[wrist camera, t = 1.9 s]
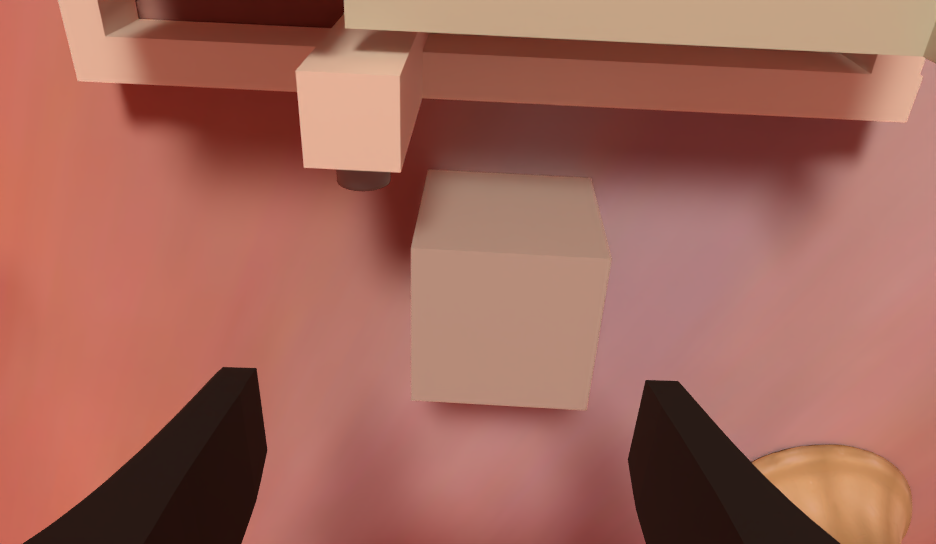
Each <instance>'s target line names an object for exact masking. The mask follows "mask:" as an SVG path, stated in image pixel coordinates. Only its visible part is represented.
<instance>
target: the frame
mask: <svg viewBox="0 0 936 544" xmlns="http://www.w3.org/2000/svg"><path fill="white" fill-rule="evenodd" d="M58 3H59V7H60V11H61V15H62V19H63V23H64V27H65V31H66V35H67V39H68V43H69V47H70V51H71V56H72V60H73V64H74V68H75V72H76V76H77V80H78V81H86V82H106V83H126V84H146V85H166V86H186V87H206V88H226V89H246V90H266V91H286V92H297V95H298V106H299V118H300V129H301V141H302V152H303V164H304V168H320V169H336V172H337V182H338V184H339V185H340V186H342V187H343V188H346V189H349V190H354V191H371V190H377V189H380V188H383V187H385V186H386V185H388V184H389V183H390V172H398V173H401V170H402V167H403V163H404V160H405V156H406V153H407V149H408V146H409V143H410V139H411V136H412V132H413V129H414V125H415V122H416V118H417V115H418V112H419V108H420V105H421V101H422V98H425V99H445V100H465V101H485V102H505V103H525V104H545V105H565V106H585V107H605V108H625V109H645V110H665V111H685V112H705V113H725V114H745V115H765V116H785V117H805V118H825V119H845V120H865V121H885V122H905V123H906V122H907V119H908V117H909V114H910V111H911V109H912V106H913V103H914V101H915V98H916V95H917V92H918V90H919V87H920V84H921V82H922V79H923V76H921V75H920V73H921V71H922V68H923V65H924V62H925V60H926V58H925V57H921V56H901V55H881V54H860V53H828V52H807V51H787V50H766V49H746V48H725V47H705V46H684V45H664V44H644V43H623V42H603V41H582V40H562V39H541V38H521V37H500V36H480V35H460V34H439V33H429V32H410V31H390V30H369V29H349V28H345V16H344V14H343V15H342V16H341V18H340V19H339V20H338V21H337V22H336V23H335V25H334V26H333V27H332V28H316V27H296V26H275V25H255V24H235V23H214V22H194V21H173V20H153V19H139V18H138V12H137V7H136V2H135V0H58Z"/></svg>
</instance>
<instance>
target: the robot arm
mask: <svg viewBox="0 0 936 544" xmlns="http://www.w3.org/2000/svg"><path fill="white" fill-rule="evenodd" d="M266 454H267V444H266V436H265V429H264V421H263V414H262V406H261V399H260V391H259V384H258V377H257V369H256V368H232V367H223V368H222V369H220V370H219V371H218V372H217V373H216V374H215V375H214V376H213V377H212V378H211V379H210V380H209V381H208V382H207V383H206V385H205V386H204V387H203V388H202V389H201V390H200V391H199V392H198V393H197V394H196V395H195V396H194V397H193V398H192V399H191V400H190V401H189V402H188V403H187V404H186V406H185V407H184V408H183V409H182V410H181V411H180V412H179V413H178V414H177V415H176V416H175V417H174V418H173V419H172V420H171V421H170V422H169V423H168V424H167V425H166V426H165V427H164V428H163V429H162V430H161V431H160V432H159V433H158V434H157V435H156V436H155V437H154V438H153V439H152V440H150V441H149V442H148V443H147V444H146V445H145V446H144V447H143V448H142V449H141V450H140V451H139V452H138V453H137V454H136V455H135V456H133V457H132V458H131V459H130V460H129V461H128V462H127V463H126V464H124V465H123V466H122V467H121V468H120V469H119V470H118V471H117V472H116V473H114V474H113V475H112V476H111V477H110V478H109V479H108V480H107V481H105V482H104V483H103V484H102V485H101V486H100V487H98V488H97V489H96V490H95V491H93V492H92V493H91V494H90V495H89V496H87V497H86V498H85V499H84V500H82V501H81V502H80V503H79V504H77V505H76V506H75V507H74V508H72V509H71V510H70V511H68V512H67V513H66V514H64V515H63V516H62V517H60V518H59V519H58V520H56V521H55V522H54V523H52V524H51V525H49V526H48V527H47V528H45V529H44V530H42V531H41V532H39V533H38V534H36V535H35V536H33V537H32V538H30V539H29V540H27V541H26V542H24V543H23V544H241V543H242V540H243V537H244V535H245V532H246V529H247V526H248V523H249V520H250V517H251V515H252V512H253V509H254V506H255V503H256V499H257V495H258V491H259V486H260V482H261V478H262V473H263V468H264V463H265V458H266ZM628 463H629V470H630V476H631V483H632V489H633V495H634V500H635V506H636V511H637V514H638V518H639V522H640V525H641V528H642V532H643V535H644V539H645V542H646V544H841V543H839V542H838V541H837V540H836V539H835V538H833V537H832V536H831V535H830V534H828V533H827V532H826V531H825V530H824V529H822V528H821V527H820V526H819V525H818V524H816V523H815V522H814V521H813V520H812V519H810V518H809V517H808V516H807V515H806V514H805V513H804V512H802V511H801V510H800V509H799V508H798V507H797V506H796V505H795V504H793V503H792V502H791V501H790V500H789V499H788V498H787V497H786V496H785V495H784V494H783V493H782V492H781V491H780V490H779V489H778V488H777V487H776V486H775V485H773V484H772V483H771V482H770V481H769V480H768V479H767V478H766V477H765V476H764V475H763V474H762V473H761V472H760V471H759V470H758V469H757V468H756V467H755V466H754V465H753V464H752V463H751V462H750V461H749V459H748V458H747V457H746V456H745V455H744V454H743V453H742V452H741V451H740V450H739V449H738V448H737V447H736V446H735V445H734V444H733V442H732V441H731V440H730V439H729V438H728V437H727V436H726V435H725V434H724V433H723V431H722V430H721V429H720V428H719V427H718V426H717V425H716V424H715V422H714V421H713V420H712V419H711V418H710V417H709V416H708V414H707V413H706V412H705V411H704V410H703V409H702V408H701V406H700V405H699V404H698V403H697V402H696V401H695V400H694V399H693V397H692V396H691V395H690V394H689V393H688V392H687V391H686V389H685V388H684V387H683V386H682V385H681V384H680V383H679V382H678V381H656V380H646V381H645V386H644V390H643V395H642V399H641V403H640V408H639V412H638V417H637V421H636V426H635V430H634V435H633V439H632V444H631V448H630V452H629V457H628Z"/></svg>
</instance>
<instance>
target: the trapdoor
mask: <svg viewBox="0 0 936 544" xmlns="http://www.w3.org/2000/svg"><path fill="white" fill-rule="evenodd" d="M344 16H345V28H349V29H369V30H390V31H410V32H431V33H451V34H472V35H492V36H512V37H533V38H553V39H574V40H594V41H615V42H635V43H656V44H676V45H696V46H717V47H737V48H758V49H778V50H799V51H819V52H840V53H860V54H881V55H901V56H921V57H925V58H926V59H928V60H930V61H932V62H934V63H936V0H344Z"/></svg>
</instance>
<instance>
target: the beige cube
mask: <svg viewBox="0 0 936 544" xmlns="http://www.w3.org/2000/svg"><path fill="white" fill-rule="evenodd" d="M611 260H612V258H611V254H610V250H609V246H608V242H607V239H606V235H605V231H604V227H603V223H602V219H601V215H600V211H599V207H598V203H597V199H596V195H595V192H594V188H593V184H592V180H591V178H585V177H566V176H547V175H528V174H509V173H490V172H471V171H452V170H433V169H428V172H427V176H426V181H425V186H424V190H423V195H422V199H421V204H420V208H419V213H418V218H417V222H416V227H415V231H414V236H413V240H412V245H411V400H413V401H431V402H448V403H466V404H483V405H500V406H518V407H535V408H553V409H570V410H587V404H588V398H589V392H590V386H591V380H592V374H593V368H594V362H595V356H596V350H597V344H598V338H599V332H600V326H601V320H602V314H603V308H604V302H605V296H606V290H607V284H608V278H609V272H610V266H611Z"/></svg>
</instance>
